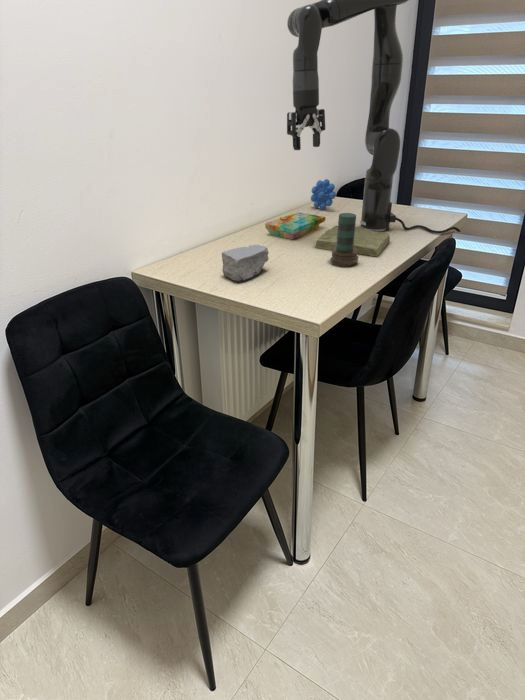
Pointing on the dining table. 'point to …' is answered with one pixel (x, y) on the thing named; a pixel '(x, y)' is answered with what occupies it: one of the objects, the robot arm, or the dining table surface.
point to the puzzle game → (294, 225)
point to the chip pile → (344, 258)
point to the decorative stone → (244, 262)
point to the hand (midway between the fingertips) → (306, 148)
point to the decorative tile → (356, 240)
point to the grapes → (323, 194)
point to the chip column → (346, 232)
